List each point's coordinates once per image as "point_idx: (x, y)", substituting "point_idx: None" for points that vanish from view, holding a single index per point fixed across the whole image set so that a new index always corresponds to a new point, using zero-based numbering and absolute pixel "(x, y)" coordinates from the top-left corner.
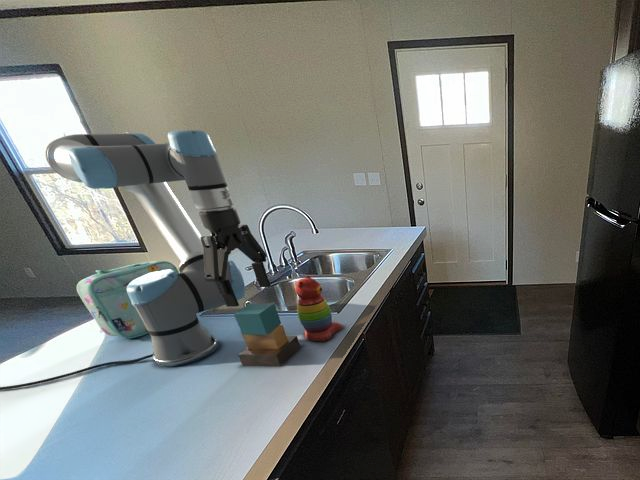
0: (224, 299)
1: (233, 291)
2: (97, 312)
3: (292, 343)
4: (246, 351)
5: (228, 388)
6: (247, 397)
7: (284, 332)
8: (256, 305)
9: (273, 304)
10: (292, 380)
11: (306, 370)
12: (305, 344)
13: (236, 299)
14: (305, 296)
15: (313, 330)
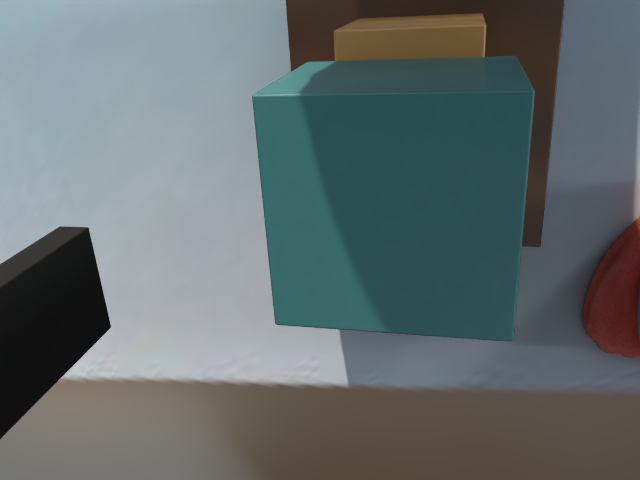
0: (8, 266)
1: (16, 421)
2: None
3: None
4: (328, 28)
5: (116, 71)
6: (87, 201)
7: None
8: (466, 198)
9: (493, 339)
10: (220, 316)
11: (295, 340)
12: (557, 234)
13: (70, 363)
14: None
15: (638, 299)
